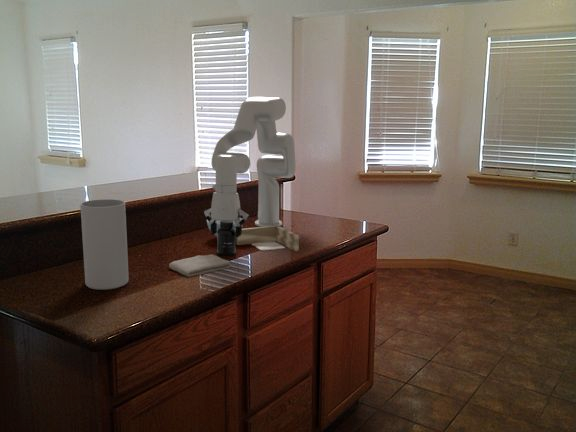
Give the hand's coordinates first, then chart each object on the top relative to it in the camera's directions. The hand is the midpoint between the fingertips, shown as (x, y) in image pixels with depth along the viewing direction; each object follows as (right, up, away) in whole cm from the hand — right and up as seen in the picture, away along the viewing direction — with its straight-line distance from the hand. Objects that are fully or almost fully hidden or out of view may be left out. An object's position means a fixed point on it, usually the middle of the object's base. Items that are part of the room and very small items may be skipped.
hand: (226, 235), depth 194 cm
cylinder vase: (-32, -14, -33) cm, 48 cm away
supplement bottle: (0, -7, +2) cm, 7 cm away
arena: (+15, -5, +10) cm, 19 cm away
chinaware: (-3, -2, +22) cm, 23 cm away
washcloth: (-7, -11, -16) cm, 20 cm away
